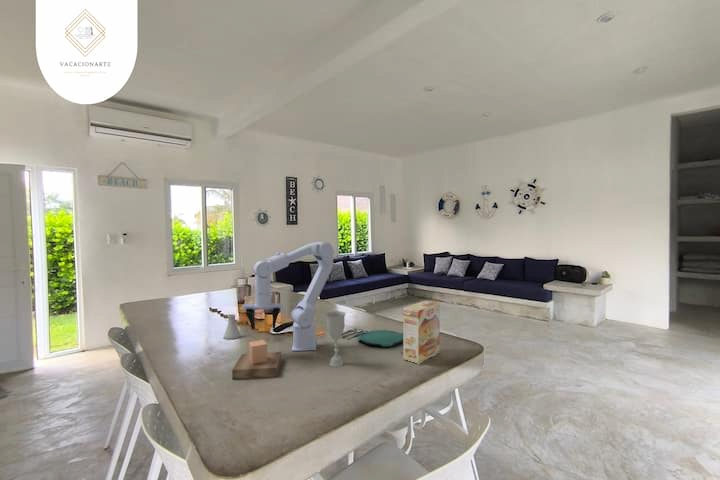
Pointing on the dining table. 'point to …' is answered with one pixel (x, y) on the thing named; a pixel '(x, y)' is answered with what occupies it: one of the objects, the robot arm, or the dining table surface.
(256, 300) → the robot arm
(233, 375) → the walnut base
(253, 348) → the terracotta block
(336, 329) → the chalice
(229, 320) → the flask
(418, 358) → the coffeecake box
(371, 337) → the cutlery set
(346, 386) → the dining table surface
